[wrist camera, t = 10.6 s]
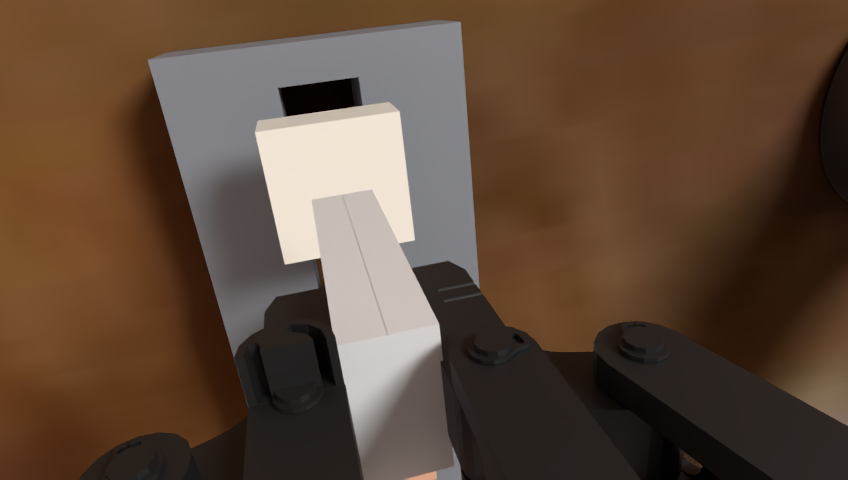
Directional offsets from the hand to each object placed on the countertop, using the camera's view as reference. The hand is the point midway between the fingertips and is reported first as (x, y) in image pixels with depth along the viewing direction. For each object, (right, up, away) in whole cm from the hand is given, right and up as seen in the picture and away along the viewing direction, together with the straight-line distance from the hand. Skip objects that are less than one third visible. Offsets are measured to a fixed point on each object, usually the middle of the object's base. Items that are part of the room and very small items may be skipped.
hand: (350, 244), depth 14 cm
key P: (-2, +4, +10) cm, 11 cm away
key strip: (-2, -4, +17) cm, 18 cm away
